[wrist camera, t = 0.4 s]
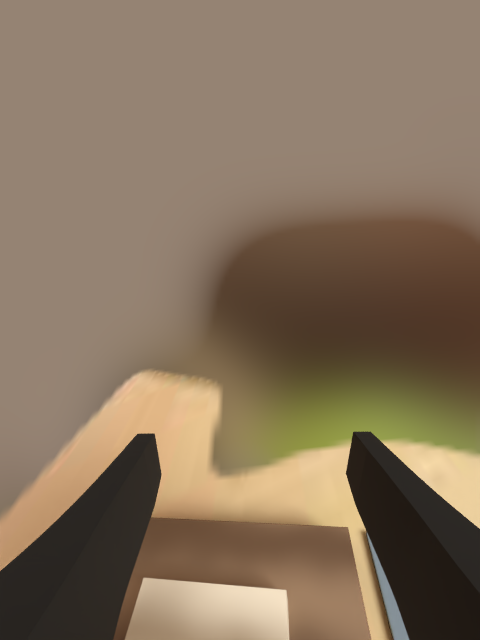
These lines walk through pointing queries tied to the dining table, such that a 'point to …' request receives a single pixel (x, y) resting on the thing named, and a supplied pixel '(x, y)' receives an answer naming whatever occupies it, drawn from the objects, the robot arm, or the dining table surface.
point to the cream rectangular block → (208, 612)
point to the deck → (260, 570)
